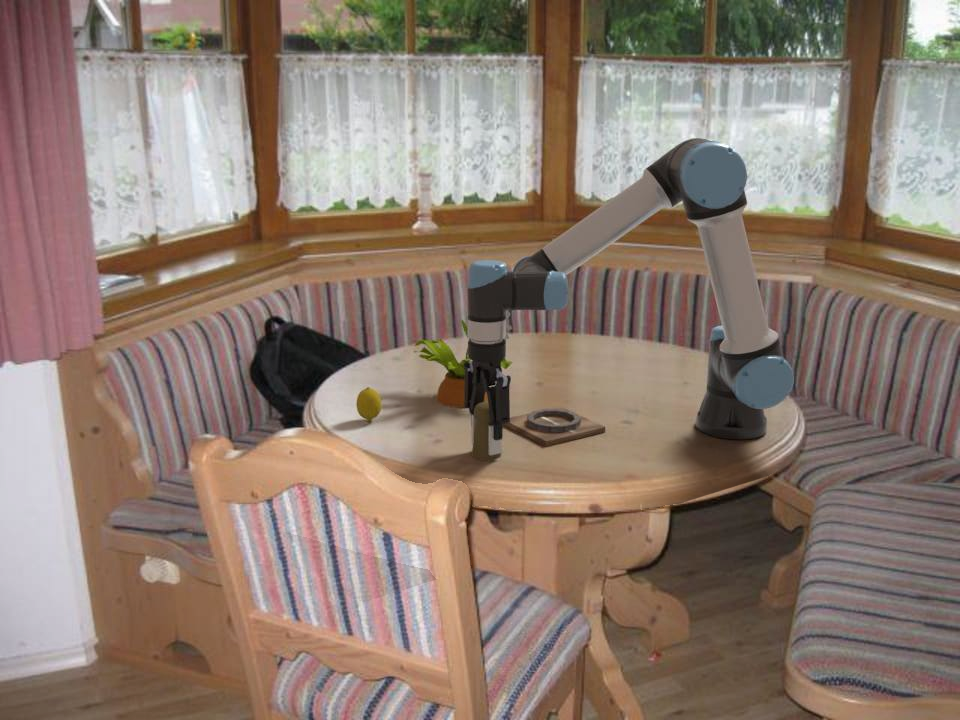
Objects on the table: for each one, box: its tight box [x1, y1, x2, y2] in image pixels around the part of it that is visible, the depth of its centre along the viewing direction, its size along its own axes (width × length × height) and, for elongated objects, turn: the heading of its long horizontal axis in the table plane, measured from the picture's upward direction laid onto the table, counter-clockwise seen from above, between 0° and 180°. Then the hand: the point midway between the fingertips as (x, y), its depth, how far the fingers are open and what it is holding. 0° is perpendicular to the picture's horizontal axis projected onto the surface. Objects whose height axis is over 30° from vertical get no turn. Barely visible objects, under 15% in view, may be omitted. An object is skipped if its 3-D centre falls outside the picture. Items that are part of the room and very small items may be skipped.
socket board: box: [503, 406, 606, 447], centre depth 216 cm, size 16×16×2 cm
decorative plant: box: [413, 310, 513, 408], centre depth 232 cm, size 27×24×25 cm
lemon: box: [356, 386, 382, 422], centre depth 219 cm, size 6×6×8 cm
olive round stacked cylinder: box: [471, 402, 502, 461], centre depth 199 cm, size 6×6×11 cm
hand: (486, 448), depth 200 cm, fingers open, 6 cm apart
